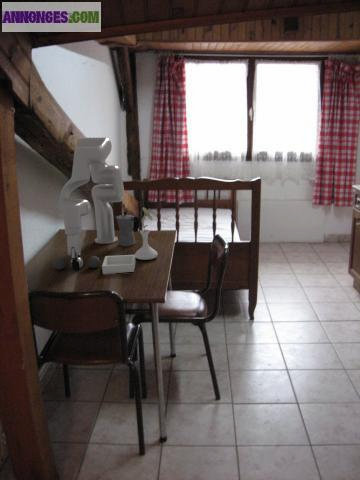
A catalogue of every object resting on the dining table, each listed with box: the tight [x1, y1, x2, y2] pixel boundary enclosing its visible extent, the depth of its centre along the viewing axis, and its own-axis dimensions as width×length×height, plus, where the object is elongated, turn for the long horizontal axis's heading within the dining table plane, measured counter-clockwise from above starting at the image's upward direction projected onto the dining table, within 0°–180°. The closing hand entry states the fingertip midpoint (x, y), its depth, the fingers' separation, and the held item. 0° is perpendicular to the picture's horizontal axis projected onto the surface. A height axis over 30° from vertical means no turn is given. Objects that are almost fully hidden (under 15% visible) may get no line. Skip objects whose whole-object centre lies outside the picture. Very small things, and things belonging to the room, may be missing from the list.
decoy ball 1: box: [53, 257, 67, 270], centre depth 222 cm, size 6×6×6 cm
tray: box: [101, 254, 136, 275], centre depth 220 cm, size 14×14×4 cm
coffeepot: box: [114, 211, 141, 247], centre depth 254 cm, size 15×9×18 cm, turn 62°
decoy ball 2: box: [87, 255, 101, 269], centre depth 222 cm, size 6×6×6 cm
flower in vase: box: [134, 206, 159, 261], centre depth 231 cm, size 13×11×25 cm
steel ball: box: [70, 257, 84, 268], centre depth 222 cm, size 6×6×6 cm
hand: (77, 266), depth 223 cm, fingers closed on steel ball, 5 cm apart
